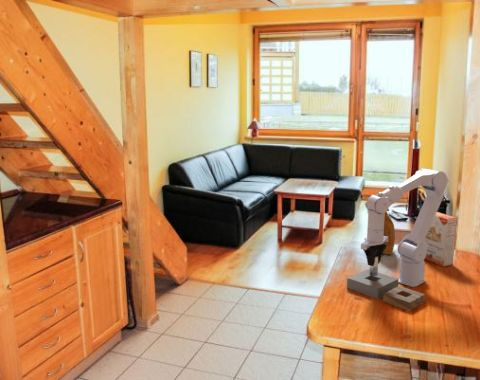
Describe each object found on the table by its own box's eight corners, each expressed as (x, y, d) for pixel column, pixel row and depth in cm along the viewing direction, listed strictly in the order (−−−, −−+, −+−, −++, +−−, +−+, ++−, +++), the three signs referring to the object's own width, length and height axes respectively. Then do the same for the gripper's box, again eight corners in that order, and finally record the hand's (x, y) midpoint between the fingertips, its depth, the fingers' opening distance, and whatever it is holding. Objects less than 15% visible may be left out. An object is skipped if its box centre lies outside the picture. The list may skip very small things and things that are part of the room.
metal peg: (372, 272, 183) (372, 254, 182) (379, 274, 181) (380, 256, 180) (367, 274, 181) (368, 256, 180) (374, 276, 179) (375, 258, 178)
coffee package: (394, 248, 228) (397, 202, 224) (393, 257, 216) (396, 208, 212) (372, 246, 231) (374, 201, 227) (370, 254, 220) (372, 207, 215)
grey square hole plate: (367, 279, 192) (367, 269, 191) (397, 289, 182) (398, 278, 181) (346, 288, 183) (347, 277, 182) (377, 299, 173) (378, 288, 172)
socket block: (398, 293, 178) (398, 285, 177) (424, 302, 170) (424, 294, 170) (382, 301, 171) (383, 293, 171) (409, 310, 164) (409, 302, 163)
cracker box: (417, 257, 217) (421, 211, 212) (428, 255, 219) (431, 209, 215) (442, 267, 204) (447, 218, 200) (453, 265, 207) (457, 217, 202)
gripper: (377, 222, 185) (375, 257, 188) (354, 229, 176) (352, 265, 179) (394, 226, 180) (391, 261, 183) (371, 234, 171) (369, 271, 174)
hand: (373, 264), depth 180 cm, fingers closed on metal peg, 3 cm apart
